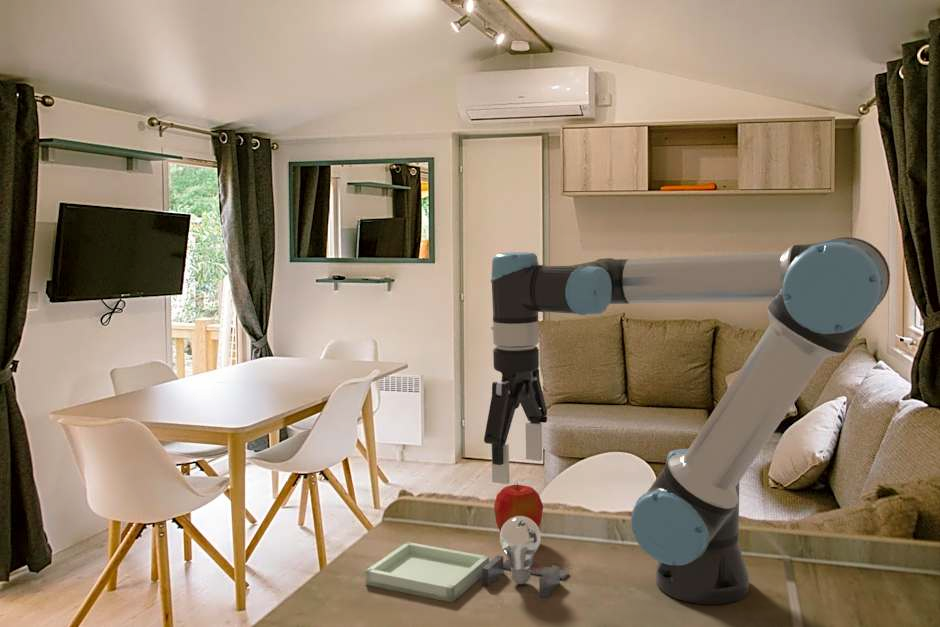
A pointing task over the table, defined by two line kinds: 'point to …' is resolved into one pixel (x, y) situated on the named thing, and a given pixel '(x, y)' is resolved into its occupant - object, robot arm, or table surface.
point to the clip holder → (547, 580)
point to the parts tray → (427, 571)
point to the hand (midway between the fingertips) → (518, 470)
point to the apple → (517, 504)
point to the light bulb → (520, 545)
